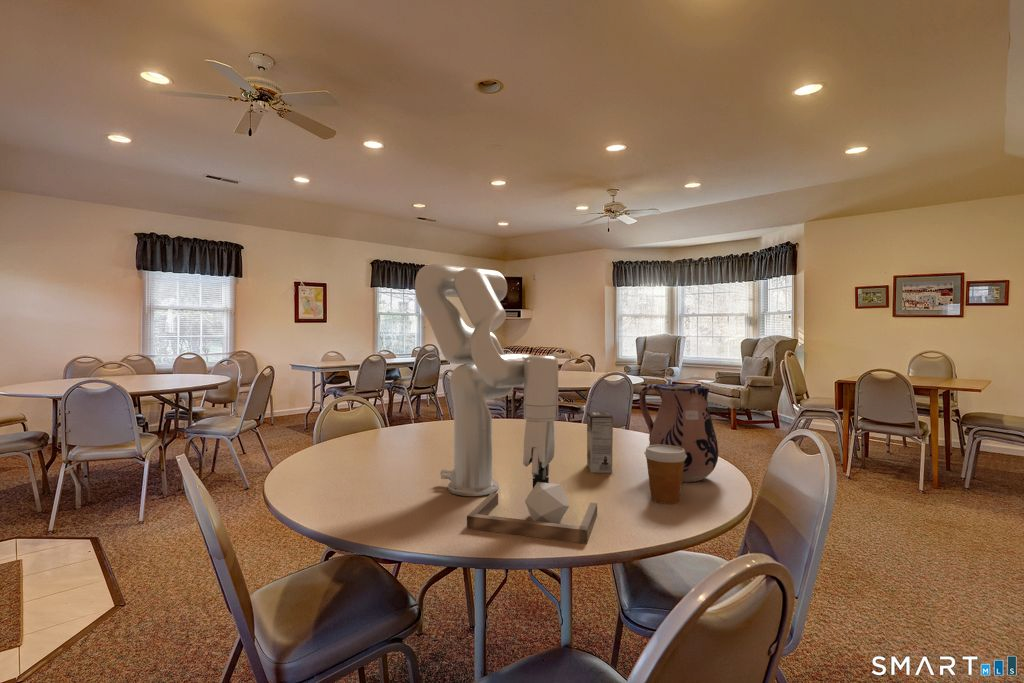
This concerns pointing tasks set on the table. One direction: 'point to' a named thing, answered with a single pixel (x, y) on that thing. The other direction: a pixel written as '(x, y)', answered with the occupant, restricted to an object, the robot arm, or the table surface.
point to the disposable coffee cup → (665, 472)
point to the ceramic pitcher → (684, 426)
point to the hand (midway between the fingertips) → (540, 495)
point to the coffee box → (599, 441)
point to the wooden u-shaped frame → (530, 523)
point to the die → (547, 503)
